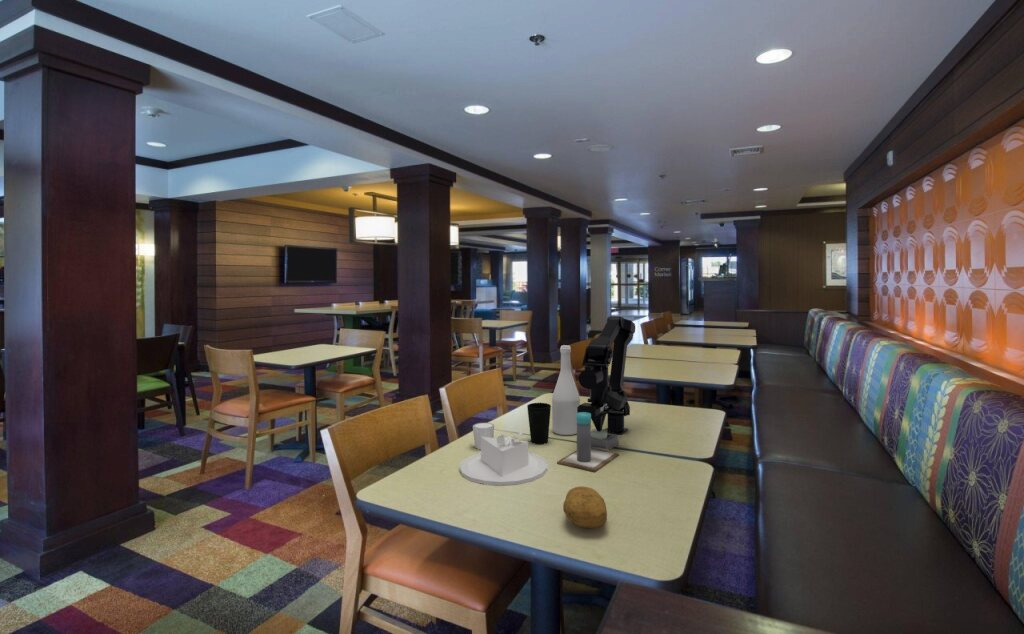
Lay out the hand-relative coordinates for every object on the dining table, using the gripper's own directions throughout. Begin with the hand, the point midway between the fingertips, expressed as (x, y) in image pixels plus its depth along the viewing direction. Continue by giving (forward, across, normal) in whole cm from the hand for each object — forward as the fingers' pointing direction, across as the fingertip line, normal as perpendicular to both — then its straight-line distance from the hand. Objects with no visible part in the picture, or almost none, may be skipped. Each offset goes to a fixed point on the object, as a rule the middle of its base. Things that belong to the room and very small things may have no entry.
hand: (599, 431), depth 163 cm
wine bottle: (+5, +7, +16) cm, 18 cm away
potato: (+5, -48, -20) cm, 52 cm away
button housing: (+5, 0, 0) cm, 5 cm away
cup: (+5, -7, +18) cm, 20 cm away
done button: (+3, 0, 0) cm, 3 cm away
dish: (+5, -32, +14) cm, 35 cm away
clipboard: (+5, -13, -3) cm, 14 cm away
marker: (+4, -16, -3) cm, 17 cm away
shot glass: (+5, -21, +30) cm, 37 cm away
